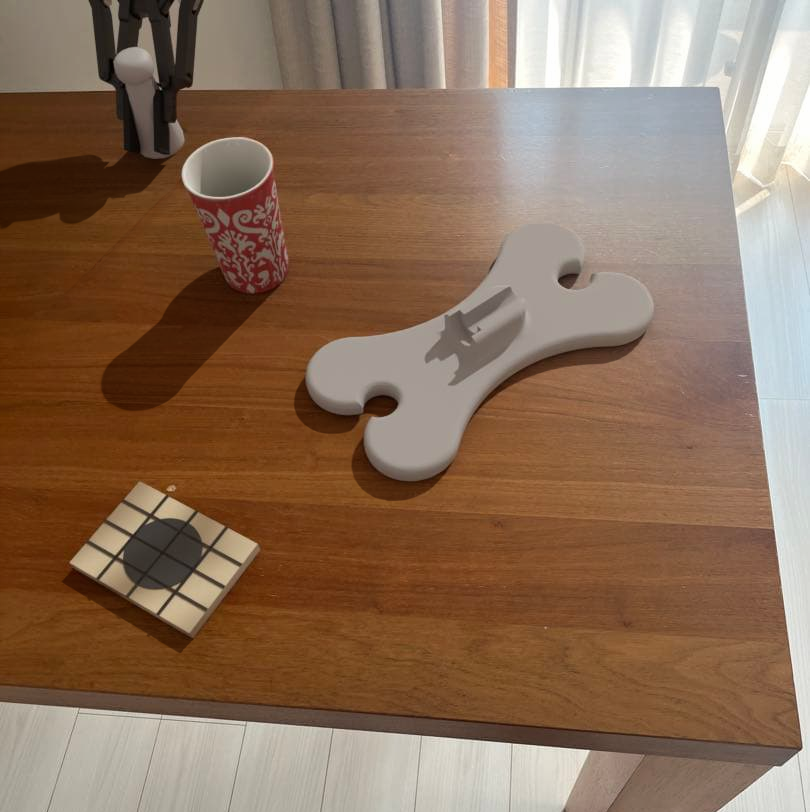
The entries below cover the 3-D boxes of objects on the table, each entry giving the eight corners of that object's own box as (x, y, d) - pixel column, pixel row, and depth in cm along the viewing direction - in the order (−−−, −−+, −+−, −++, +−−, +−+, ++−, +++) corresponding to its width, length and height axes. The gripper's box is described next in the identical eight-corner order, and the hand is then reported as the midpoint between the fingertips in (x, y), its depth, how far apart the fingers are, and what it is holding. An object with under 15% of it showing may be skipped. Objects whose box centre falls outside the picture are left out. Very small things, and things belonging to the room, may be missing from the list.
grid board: (74, 568, 81) (68, 562, 79) (143, 487, 84) (139, 480, 83) (193, 639, 76) (188, 632, 75) (260, 550, 80) (257, 543, 79)
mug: (292, 301, 95) (265, 197, 83) (210, 301, 96) (172, 198, 84) (307, 219, 101) (284, 112, 89) (230, 220, 102) (198, 114, 90)
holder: (670, 318, 90) (680, 282, 85) (402, 501, 81) (398, 470, 77) (545, 221, 98) (548, 183, 94) (290, 378, 90) (280, 344, 85)
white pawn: (181, 174, 107) (145, 72, 95) (137, 171, 108) (96, 70, 96) (195, 142, 109) (162, 39, 98) (152, 140, 110) (114, 38, 99)
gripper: (56, -93, 95) (66, 144, 101) (199, -93, 92) (199, 150, 99) (92, -66, 102) (99, 154, 108) (225, -66, 99) (224, 160, 106)
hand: (147, 152), depth 104 cm, fingers closed on white pawn, 3 cm apart
